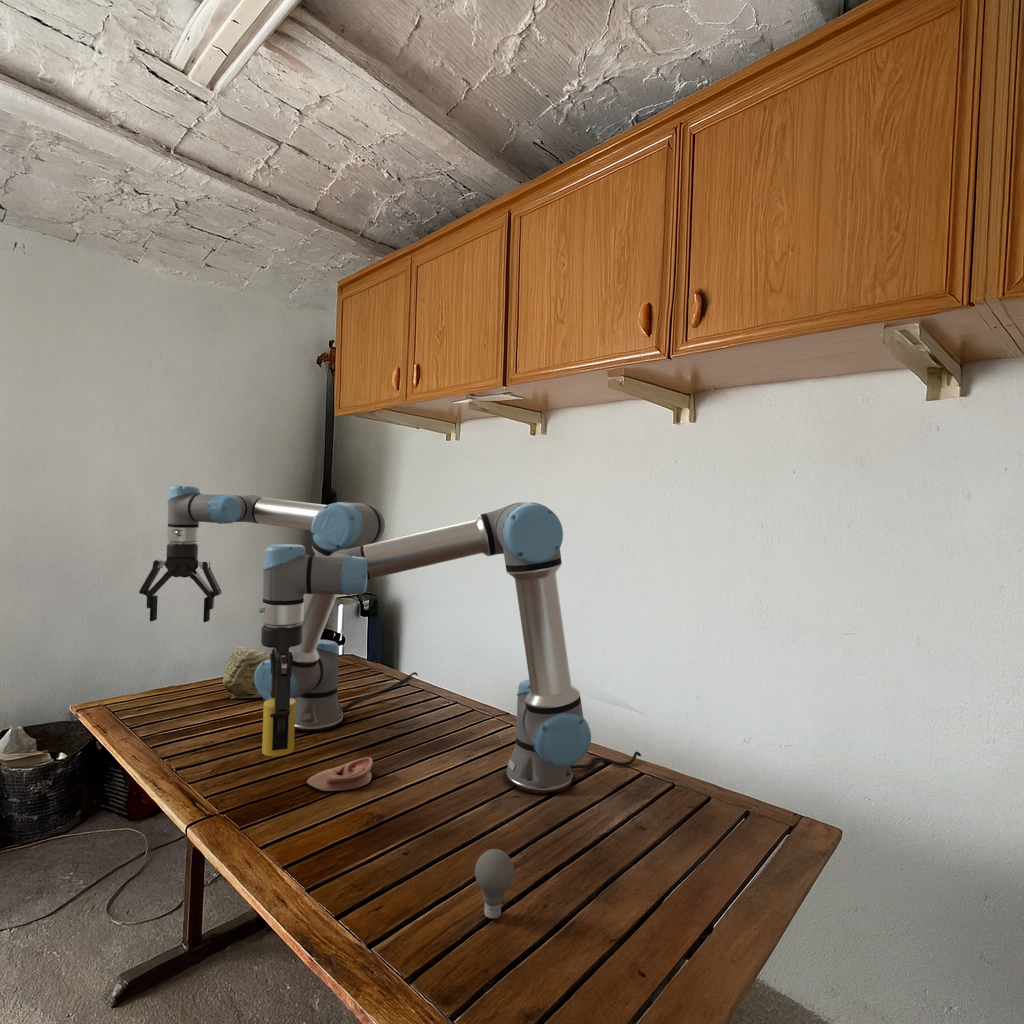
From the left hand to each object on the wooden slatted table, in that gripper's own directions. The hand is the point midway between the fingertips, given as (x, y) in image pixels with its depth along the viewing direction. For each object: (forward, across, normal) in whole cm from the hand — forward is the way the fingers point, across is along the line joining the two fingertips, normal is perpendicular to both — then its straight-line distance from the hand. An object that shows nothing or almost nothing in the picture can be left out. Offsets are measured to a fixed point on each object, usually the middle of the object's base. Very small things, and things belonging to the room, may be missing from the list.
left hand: (180, 620), depth 172 cm
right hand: (+12, +38, -55) cm, 68 cm away
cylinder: (+14, +38, -55) cm, 68 cm away
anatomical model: (+28, +48, -38) cm, 67 cm away
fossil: (+28, +14, +24) cm, 39 cm away
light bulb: (+28, +77, -86) cm, 119 cm away
